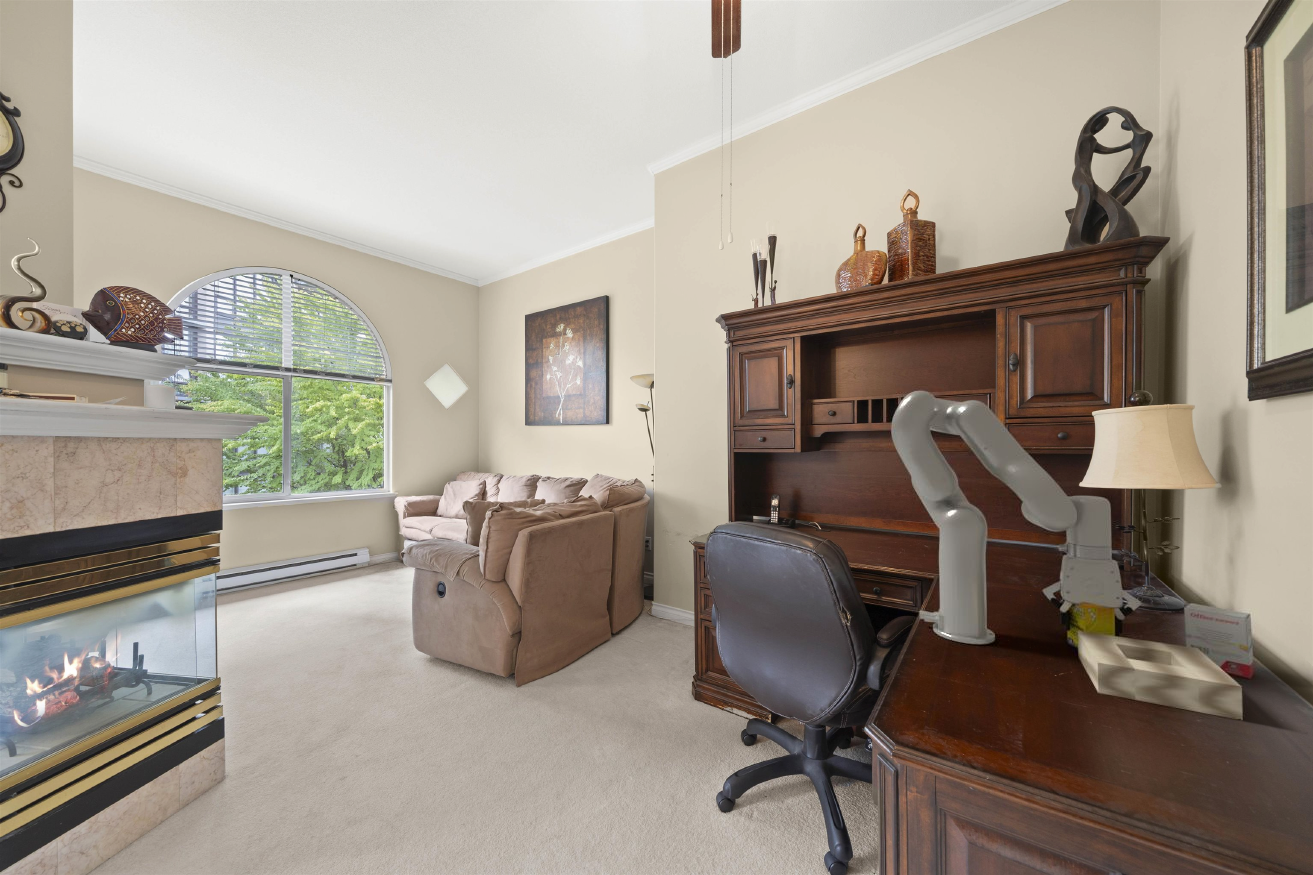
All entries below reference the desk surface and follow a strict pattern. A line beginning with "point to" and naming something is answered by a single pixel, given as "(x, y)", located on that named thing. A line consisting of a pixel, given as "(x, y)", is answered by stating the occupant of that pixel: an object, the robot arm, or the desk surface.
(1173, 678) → the well block
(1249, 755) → the desk surface
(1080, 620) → the supplement box
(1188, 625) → the ink box
